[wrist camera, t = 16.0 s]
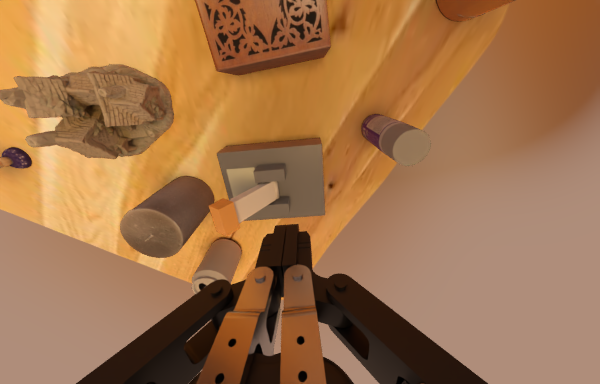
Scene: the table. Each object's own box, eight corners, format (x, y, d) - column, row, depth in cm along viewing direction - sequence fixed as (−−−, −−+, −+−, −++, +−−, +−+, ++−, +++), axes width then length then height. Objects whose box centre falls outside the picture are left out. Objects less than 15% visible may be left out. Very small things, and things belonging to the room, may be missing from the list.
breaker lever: (270, 174, 38) (208, 205, 29) (280, 176, 37) (218, 209, 28) (273, 196, 40) (216, 231, 31) (283, 198, 39) (226, 236, 30)
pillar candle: (191, 221, 49) (149, 272, 35) (158, 189, 45) (98, 231, 32) (224, 202, 46) (192, 248, 33) (192, 166, 43) (142, 201, 29)
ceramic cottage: (91, 147, 41) (-6, 174, 28) (78, 51, 35) (-56, 24, 21) (175, 166, 44) (125, 199, 30) (178, 80, 37) (116, 72, 24)
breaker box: (226, 146, 41) (209, 158, 33) (319, 137, 40) (323, 148, 32) (241, 208, 47) (230, 230, 40) (323, 202, 46) (326, 224, 39)
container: (382, 141, 40) (423, 169, 26) (358, 138, 40) (386, 164, 26) (390, 115, 38) (438, 130, 24) (365, 112, 38) (399, 125, 24)
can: (207, 238, 51) (181, 279, 40) (237, 234, 50) (219, 274, 39) (217, 261, 54) (196, 305, 43) (246, 258, 53) (231, 301, 42)
